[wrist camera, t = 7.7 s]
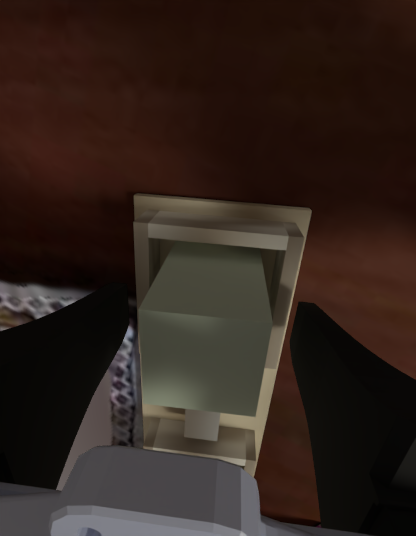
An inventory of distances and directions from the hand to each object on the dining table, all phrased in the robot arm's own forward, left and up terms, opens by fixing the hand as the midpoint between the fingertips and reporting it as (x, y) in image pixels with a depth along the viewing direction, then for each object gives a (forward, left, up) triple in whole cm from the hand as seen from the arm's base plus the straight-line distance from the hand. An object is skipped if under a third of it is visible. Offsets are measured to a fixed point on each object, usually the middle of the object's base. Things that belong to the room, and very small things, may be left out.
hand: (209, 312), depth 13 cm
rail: (0, +7, -3) cm, 8 cm away
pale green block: (0, 0, -3) cm, 3 cm away
